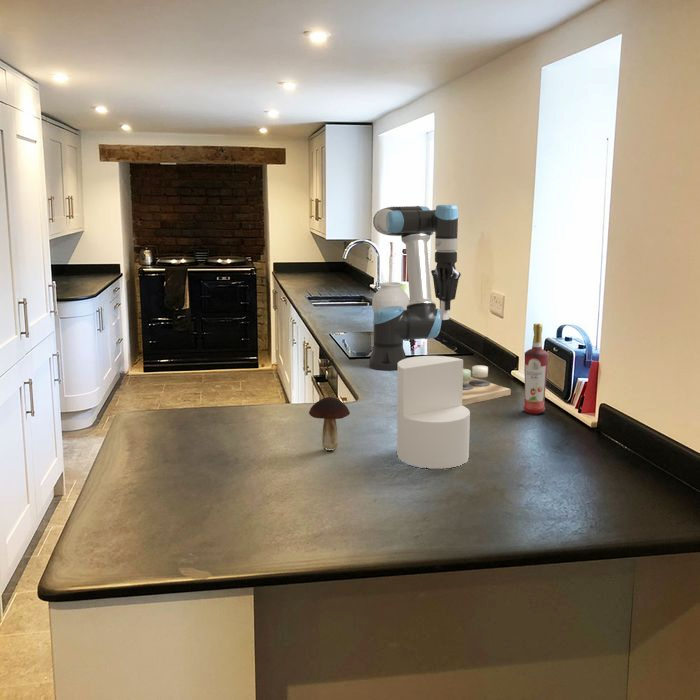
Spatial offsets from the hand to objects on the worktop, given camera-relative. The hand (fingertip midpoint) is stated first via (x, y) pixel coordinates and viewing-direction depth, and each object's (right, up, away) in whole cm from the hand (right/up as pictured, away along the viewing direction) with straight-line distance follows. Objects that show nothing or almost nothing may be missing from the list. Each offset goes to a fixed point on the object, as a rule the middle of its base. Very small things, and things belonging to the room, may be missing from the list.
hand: (444, 319), depth 250 cm
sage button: (+6, -21, -4) cm, 22 cm away
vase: (-13, -4, +96) cm, 97 cm away
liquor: (+25, -30, -24) cm, 46 cm away
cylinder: (-11, -39, -60) cm, 73 cm away
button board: (+6, -26, -3) cm, 26 cm away
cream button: (+12, -20, 0) cm, 23 cm away
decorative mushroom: (-38, -38, -56) cm, 78 cm away
